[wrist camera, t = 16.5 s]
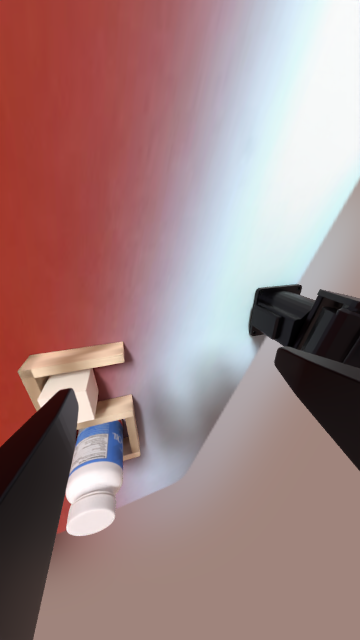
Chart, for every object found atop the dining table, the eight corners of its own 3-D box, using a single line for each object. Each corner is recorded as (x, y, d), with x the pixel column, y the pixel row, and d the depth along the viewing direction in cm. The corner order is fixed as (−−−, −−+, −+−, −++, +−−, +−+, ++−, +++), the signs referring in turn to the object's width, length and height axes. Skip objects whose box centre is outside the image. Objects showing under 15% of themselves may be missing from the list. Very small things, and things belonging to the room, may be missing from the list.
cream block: (91, 364, 21) (85, 390, 18) (98, 390, 23) (94, 419, 19) (52, 371, 20) (37, 400, 17) (62, 398, 22) (50, 429, 18)
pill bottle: (125, 433, 27) (126, 526, 18) (84, 443, 26) (66, 548, 17) (120, 406, 25) (118, 498, 16) (75, 416, 23) (47, 521, 15)
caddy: (122, 341, 21) (122, 354, 19) (139, 438, 28) (140, 455, 26) (29, 355, 19) (17, 371, 17) (73, 456, 26) (68, 476, 24)
